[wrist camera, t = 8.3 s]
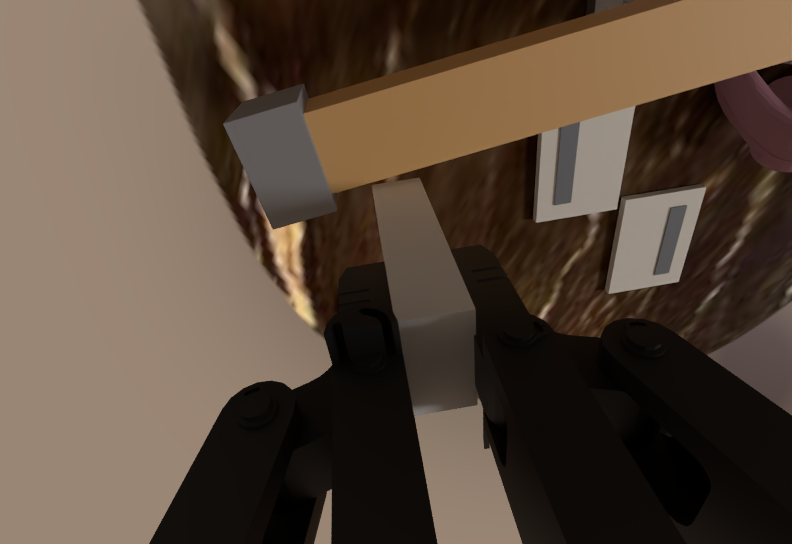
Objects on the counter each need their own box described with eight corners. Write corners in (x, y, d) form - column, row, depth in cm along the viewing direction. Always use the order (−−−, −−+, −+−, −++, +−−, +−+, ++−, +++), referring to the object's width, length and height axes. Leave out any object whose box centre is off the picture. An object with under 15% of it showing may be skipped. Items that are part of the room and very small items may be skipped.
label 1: (540, 98, 22) (544, 101, 22) (633, 83, 22) (639, 86, 22) (533, 219, 26) (536, 223, 26) (612, 205, 26) (617, 209, 26)
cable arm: (887, -109, 12) (1015, -134, 10) (842, 41, 15) (939, 49, 12) (236, 88, 13) (215, 108, 11) (287, 203, 15) (278, 240, 13)
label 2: (621, 197, 26) (627, 200, 25) (700, 183, 26) (707, 187, 26) (604, 289, 30) (609, 294, 29) (673, 277, 30) (679, 282, 29)
